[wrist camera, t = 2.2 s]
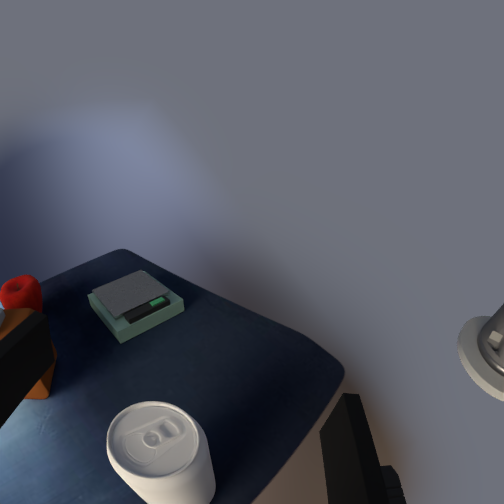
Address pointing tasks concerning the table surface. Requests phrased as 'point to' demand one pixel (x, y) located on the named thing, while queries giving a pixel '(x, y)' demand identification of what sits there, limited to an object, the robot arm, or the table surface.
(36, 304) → the apple
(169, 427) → the beverage can
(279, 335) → the table surface
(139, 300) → the weighing plate
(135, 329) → the scale
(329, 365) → the table surface
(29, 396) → the alarm clock
